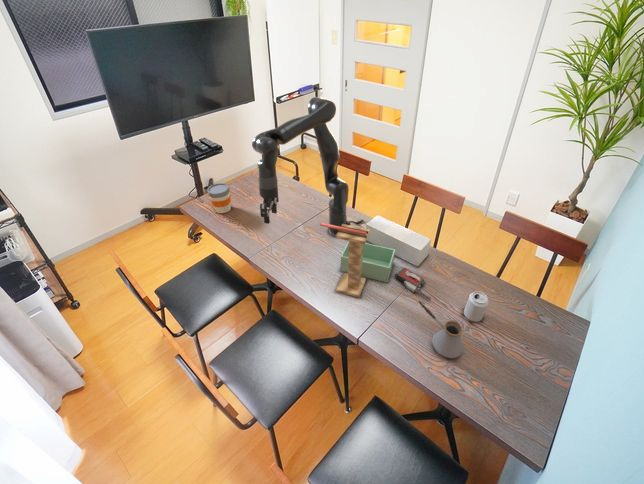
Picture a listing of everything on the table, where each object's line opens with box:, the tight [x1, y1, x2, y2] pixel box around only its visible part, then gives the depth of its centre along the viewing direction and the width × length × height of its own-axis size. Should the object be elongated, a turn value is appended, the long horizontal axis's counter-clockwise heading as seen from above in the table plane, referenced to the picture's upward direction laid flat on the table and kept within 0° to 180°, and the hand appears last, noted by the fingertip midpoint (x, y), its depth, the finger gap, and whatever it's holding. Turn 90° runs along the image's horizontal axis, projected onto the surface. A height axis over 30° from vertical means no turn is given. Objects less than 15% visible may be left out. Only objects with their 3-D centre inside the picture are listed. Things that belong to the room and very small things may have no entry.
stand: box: [335, 224, 370, 298], centre depth 142 cm, size 12×11×33 cm
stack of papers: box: [365, 214, 432, 267], centre depth 170 cm, size 32×11×11 cm, turn 50°
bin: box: [340, 240, 395, 283], centre depth 159 cm, size 23×13×10 cm, turn 71°
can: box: [463, 290, 490, 323], centre depth 135 cm, size 8×8×12 cm
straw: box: [319, 222, 366, 235], centre depth 134 cm, size 20×1×1 cm, turn 71°
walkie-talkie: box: [394, 267, 432, 301], centre depth 151 cm, size 9×4×20 cm
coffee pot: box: [416, 300, 464, 359], centre depth 125 cm, size 21×12×15 cm, turn 45°
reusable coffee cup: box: [206, 182, 232, 214], centre depth 198 cm, size 13×13×15 cm
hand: (270, 217), depth 142 cm, fingers open, 8 cm apart
